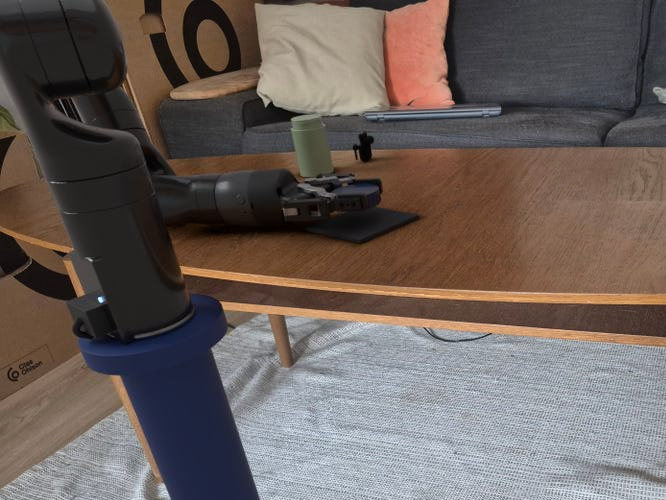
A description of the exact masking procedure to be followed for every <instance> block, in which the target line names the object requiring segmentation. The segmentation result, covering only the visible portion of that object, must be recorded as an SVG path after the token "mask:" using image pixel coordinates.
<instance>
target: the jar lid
mask: <svg viewBox="0 0 666 500" xmlns="http://www.w3.org/2000/svg"><path fill="white" fill-rule="evenodd" d="M342 186H343V185H342ZM331 193H333V194H336V197H338V196H337V195H338V194H346V193H365V194H366V196H367V201H368V209H369V208H372V207H378V205H379V204H381V203H382V194H381V195H380V191H379V187H378V186H377V185H374V184H353V185H348V184H347V185H344V186H343V187H340V188H337V189H335V190H333V191H332V192H331Z"/></svg>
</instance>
